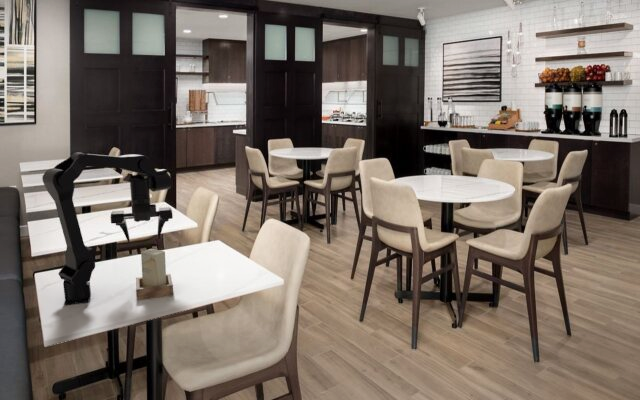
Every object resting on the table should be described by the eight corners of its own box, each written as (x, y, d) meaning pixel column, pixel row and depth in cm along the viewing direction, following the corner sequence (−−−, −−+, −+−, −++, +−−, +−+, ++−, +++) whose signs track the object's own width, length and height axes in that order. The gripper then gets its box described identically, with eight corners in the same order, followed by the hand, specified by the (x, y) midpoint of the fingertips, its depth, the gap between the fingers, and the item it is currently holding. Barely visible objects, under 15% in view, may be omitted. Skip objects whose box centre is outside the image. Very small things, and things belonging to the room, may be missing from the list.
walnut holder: (136, 300, 157) (135, 289, 156) (136, 287, 166) (135, 277, 166) (173, 295, 160) (172, 285, 159) (171, 283, 170) (170, 273, 169)
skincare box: (142, 289, 163) (139, 251, 160) (153, 284, 167) (150, 248, 164) (157, 293, 160) (154, 254, 157) (168, 288, 164) (165, 251, 161)
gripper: (108, 200, 158) (112, 250, 162) (172, 196, 164) (175, 244, 168) (109, 194, 169) (113, 241, 172) (169, 190, 175) (172, 235, 178)
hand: (143, 240), depth 172 cm, fingers open, 9 cm apart
